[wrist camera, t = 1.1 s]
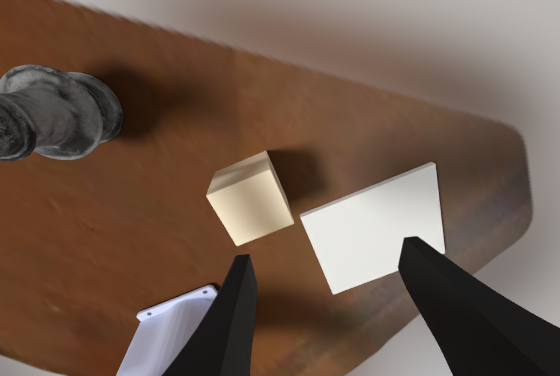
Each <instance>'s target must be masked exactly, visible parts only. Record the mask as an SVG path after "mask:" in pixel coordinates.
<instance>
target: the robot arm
mask: <svg viewBox="0 0 560 376" xmlns="http://www.w3.org/2000/svg"><path fill="white" fill-rule="evenodd" d="M398 270H399V272H400V275H401V277H402V279H403V282H404V284H405V286H406V288H407V290H408V292H409V294H410V296H411V297H412V299H413V301H414V303H415V305H416V306H417V308H418V310H419V312H420V313H421V315H422V317H423V318H424V320H425V322H426V323H427V325H428V327H429V329H430V330H431V332H432V334H433V336H434V337H435V339H436V341H437V343H438V345H439V347H440V349H441V351H442V353H443V355H444V357H445V359H446V361H447V363H448V366H449V368H450V370H451V372H452V374H453V376H560V328H559V327H557V326H555V325H553V324H551V323H549V322H547V321H545V320H543V319H542V318H540V317H538V316H536V315H534V314H533V313H531V312H529V311H527V310H525V309H524V308H522V307H521V306H519V305H517V304H515V303H514V302H512V301H510V300H509V299H507V298H505V297H504V296H502V295H501V294H499V293H497V292H496V291H494V290H493V289H491V288H490V287H488V286H487V285H485V284H484V283H482V282H480V281H479V280H477V279H476V278H475V277H473V276H472V275H470V274H469V273H467V272H466V271H464V270H463V269H462V268H460V267H459V266H457V265H456V264H455V263H453V262H452V261H451V260H449V259H448V258H446V257H445V256H444V255H442V254H441V253H440V252H438V251H437V250H436V249H434V248H433V247H432V246H430V245H429V244H428V243H426V242H425V241H424V240H422V239H421V238H420V237H418V236H412V237H404V240H403V244H402V249H401V254H400V259H399V263H398ZM256 305H257V281H256V278H255V274H254V270H253V266H252V262H251V258H250V254H246V255H237V256H236V257H235V258H234V261H233V263H232V265H231V268H230V270H229V272H228V274H227V276H226V278H225V280H224V282H223V284H222V286H221V288H220V290H219V291H218V292H217V290H216V289H215V288H214V286H212V285H207V286H205V287H202V288H199V289H197V290H194V291H192V292H189V293H187V294H184V295H181V296H179V297H176V298H174V299H171V300H169V301H166V302H163V303H161V304H158V305H156V306H153V307H151V308H148V309H146V310H143V311H140V312H139V313H138V315H137V318H138V319H139V320H140V321H141V322H140V325H139V327H138V329H137V331H136V333H135V336H134V338H133V340H132V342H131V344H130V346H129V349H128V351H127V353H126V355H125V357H124V360H123V362H122V364H121V366H120V368H119V371H118V373H117V375H116V376H250V363H251V352H252V343H253V333H254V324H255V315H256Z"/></svg>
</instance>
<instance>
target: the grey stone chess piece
mask: <svg viewBox="0 0 560 376" xmlns="http://www.w3.org/2000/svg"><path fill="white" fill-rule="evenodd" d="M122 125H123V111H122V106H121V104H120V102H119V100H118V98H117V96H116V95H115V94H114V93H113V91H112V90H111V89H110V88H109V87H108V86H107V85H106V84H104V83H103V82H102V81H101V80H99V79H97V78H95V77H93V76H91V75H88V74H85V73H82V72H67V73H63V72H61V71H59V70H57V69H54V68H50V67H47V66H44V65H28V64H27V65H23V66H19V67H15V68H13V69H11V70H10V71H8V72H7V73H5V74H4V75H3V77H2V78H1V80H0V161H16V160H20V159H23V158H25V157H27V156H28V155H30V154H31V153H32V151H35V152H37V153H39V154H41V155H44V156H46V157H50V158H54V159H58V160H74V159H78V158H82V157H84V156H86V155H88V154H90V153H91V152H93V151H94V150H95V148H96V147H97V146H98V145H99V144H100V143H104V142H108V141H109V140H111V139H113V138H115V137H116V135H117V134H118V133H119V132H120V130H121V127H122Z"/></svg>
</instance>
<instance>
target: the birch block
mask: <svg viewBox="0 0 560 376" xmlns="http://www.w3.org/2000/svg"><path fill="white" fill-rule="evenodd" d="M206 197H207V198H208V200H209V202H210V203H211V205H212V206H213V208H214V210H215V211H216V213H217V215H218V216H219V218H220V220H221V221H222V223H223V224H224V226H225V228H226V229H227V231H228V233H229V234H230V236H231V238H232V239H233V241H234V242H235V244H236V246H239V245H241V244H244V243H246V242H249V241H251V240H254V239H256V238H259V237H261V236H264V235H266V234H269V233H271V232H274V231H276V230H279V229H281V228H284V227H286V226H289V225H291V224H294V221H293V218H292V214H291V211H290V208H289V204H288V201H287V198H286V195H285V193H284V190H283V188H282V186H281V183H280V181H279V179H278V177H277V174H276V172H275V170H274V167H273V165H272V163H271V161H270V158H269V156H268V154H267V151H264V152H261V153H259V154H257V155H254V156H252V157H249V158H247V159H245V160H242V161H240V162H238V163H235V164H233V165H230V166H228V167H226V168H223V169H221V170H219V171H216V172H215V174H214V177H213V179H212V182H211V184H210V187H209V189H208V192H207V195H206Z"/></svg>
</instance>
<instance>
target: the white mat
mask: <svg viewBox="0 0 560 376" xmlns="http://www.w3.org/2000/svg"><path fill="white" fill-rule="evenodd" d="M299 215H300V218H301V220H302V222H303V225H304V227H305V229H306V232H307V234H308V236H309V239H310V241H311V243H312V246H313V248H314V250H315V253H316V255H317V258H318V260H319V262H320V265H321V267H322V269H323V272H324V274H325V276H326V279H327V281H328V283H329V286H330V288H331V290H332V293H333V295H334V294H336V293H339V292H342V291H344V290H347V289H350V288H352V287H355V286H358V285H360V284H363V283H366V282H368V281H371V280H374V279H376V278H379V277H382V276H385V275H387V274H390V273H393V272H395V271H398V263H399V259H400V254H401V249H402V244H403V240H404V237H412V236H418V237H420V238H421V239H422V240H424V241H425V242H426V243H428V244H429V245H430V246H432V247H433V248H434V249H436V250H437V251H438V252H440V253H441V254H443V253H445V247H444V238H443V229H442V220H441V210H440V201H439V192H438V183H437V174H436V164H435V163H433V162H429V163H427V164H424V165H422V166H419V167H417V168H414V169H412V170H409V171H407V172H404V173H402V174H399V175H397V176H394V177H392V178H389V179H387V180H384V181H382V182H379V183H377V184H374V185H372V186H369V187H367V188H364V189H362V190H359V191H357V192H354V193H352V194H349V195H347V196H344V197H342V198H339V199H337V200H334V201H332V202H329V203H327V204H324V205H322V206H319V207H317V208H314V209H312V210H309V211H307V212H304V213H302V214H299Z"/></svg>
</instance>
